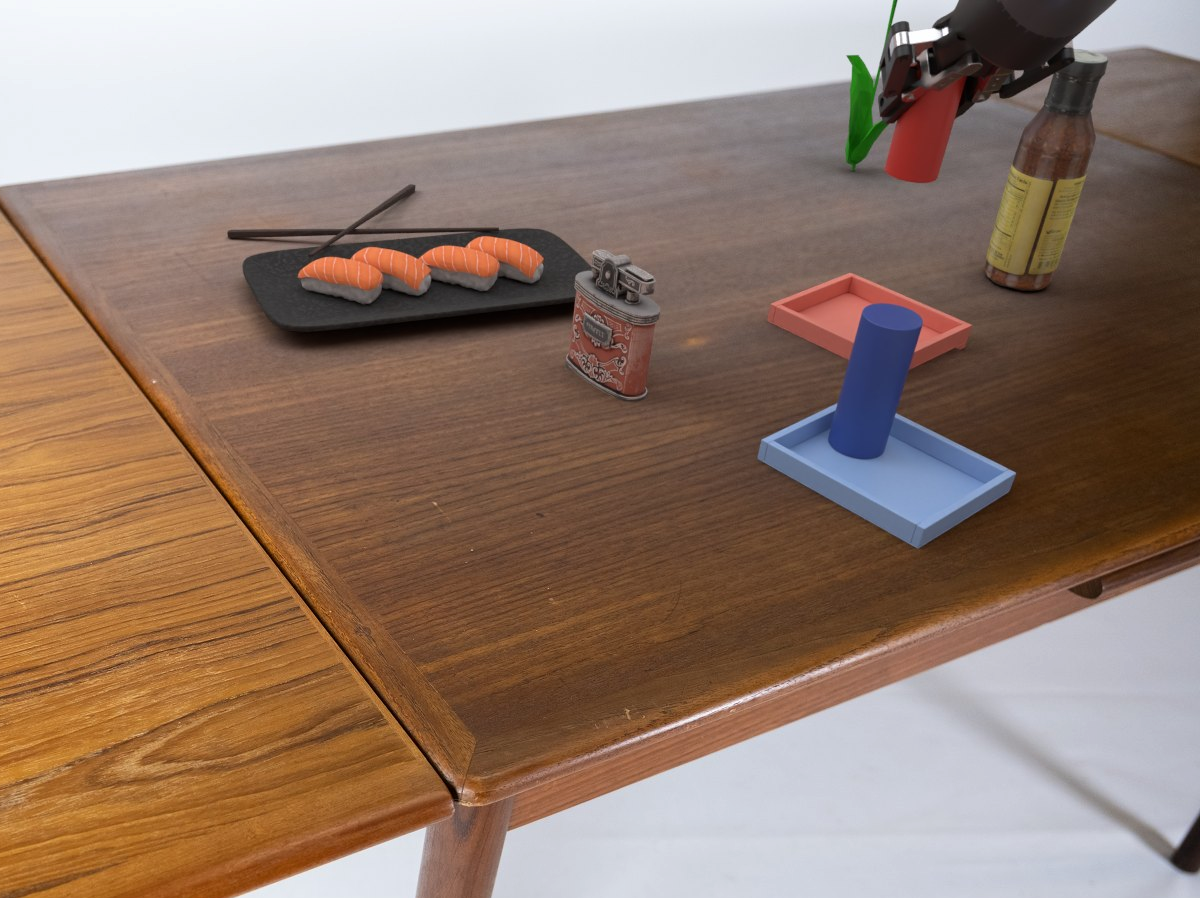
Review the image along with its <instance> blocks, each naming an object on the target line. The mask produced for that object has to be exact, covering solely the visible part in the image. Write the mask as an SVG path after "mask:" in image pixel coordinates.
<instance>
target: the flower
mask: <svg viewBox="0 0 1200 898" xmlns="http://www.w3.org/2000/svg"><path fill="white" fill-rule="evenodd" d="M898 1H899V0H892V4H891V9H890V15H889V20H888V24H887V29H886V34H885V39H884V43H883V49H882V52H881V54H882V53H883V50H884V47H885V44H886V41H887V37H888V34H889V31H890V28H891V26H892V25H893V21H894V16H895V12H896V10H897V9H896V8H897V4H898ZM846 58H847V59H848V61H849V63H850V65H851V79H850V80H851V81H850V87H849V98H850V99H849V103H850V104H849V105H850V106H849V119H848V135H847V140H846V143H845V147H844V148H845V149H844V152H845V163H847V164H849V165H851V170H850V171H851V172H855V171H856V170H855V169H856V166H857V165H858V164H860V163H862V162H863V161H864V159H866V158H867V156H868V154H869V152H870V151H871V149H872V147H873V145H874V143H875V142H876V141H877V140H878V138H880V136H881V134H882V133H883V131H884V130H885V129H886V128H887V127H888V126H889V125H890V124H884V123H883V121H882V120H879V121H878V122H875V124H874V122H873V120H874V119H873V106H874V101H875V96H876V92H877V89H878V84H879V80H880V75H881V70H880V64H879V65H878V68H877V71H876V72H877V73H876V77H875V79H873V77H872V75H871V73H870V71H869V69H868V67H867V65H866V63H865V61H863V59H862V58H861V56H860V55H859V54H847V55H846Z"/></svg>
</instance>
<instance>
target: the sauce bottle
mask: <svg viewBox="0 0 1200 898" xmlns="http://www.w3.org/2000/svg"><path fill="white" fill-rule="evenodd" d="M1074 55H1075V61H1074V62H1073V63H1072V64H1070V65H1068V66H1066V67H1065V68H1063V69H1061V70H1059V71H1058V72H1056V73H1054V74H1052V77H1051V81H1050V84H1049V88H1048V91H1047V95H1046V96H1045V98H1044V101H1043V105H1042V106H1041V108H1040V109H1039V110H1038V112H1037V113H1036V115H1034V116H1033V118H1032V119H1031V120H1030V121H1029V122H1028V123H1027V125H1025V127H1024V129H1023V131H1022V133H1021V137H1020V139H1019V142H1018V145H1017V148H1016V150H1015V153H1014V156H1013V159H1012V162H1011V166H1010V170H1009V173H1008V177H1007V180H1006V183H1005V186H1004V190H1003V194H1002V197H1001V201H1000V204H999V208H998V211H997V215H996V218H995V222H994V226H993V229H992V234H991V238H990V240H989V243H988V248H987V252H986V254H985V258H986V259H985V265H984V269H983V270H984V273H985V276H986V277H987V278H988V279H990V281H991V282H992V283H995V284H996V285H998V286H1001V287H1006V288H1009V289H1013V290H1016V291H1023V292H1025V291H1026V292H1027V291H1028V292H1033V291H1041V290H1043V289H1045V288H1047V287H1049V285H1050V283H1051V281H1052V280H1053V277H1054V273H1055V270H1057V269H1058V266H1059V264H1060V260H1061V256H1062V253H1063V251H1064V247H1065V244H1066V242H1067V238H1068V234H1069V231H1070V228H1071V226H1072V222H1073V220H1074V216H1075V213H1076V209H1077V206H1078V203H1079V200H1080V196H1081V193H1082V190H1083V187H1084V184H1085V181H1086V177H1087V175H1088V167H1089V163H1090V160H1091V157H1092V154H1093V151H1094V147H1095V144H1096V138H1097V135H1096V132H1095V128H1094V127H1095V126H1094V122H1093V115H1092V111H1093V107H1094V106H1093V105H1094V100H1095V96H1096V94H1097V91H1098V87H1099V84H1100V82H1101V79H1102V78H1103V77H1104V76H1105V75H1106V72H1107V71H1106V70H1107V67H1108V63H1109V57H1108V56H1106V55H1105V54H1103V53H1099V52H1096V51H1091V50H1087V49H1081V48H1074Z"/></svg>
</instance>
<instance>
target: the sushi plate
mask: <svg viewBox="0 0 1200 898" xmlns="http://www.w3.org/2000/svg"><path fill="white" fill-rule="evenodd" d="M414 192H416V184H414V183H413V184H412V183H410V184H408V185H406V186H405V187H404V188H402V189H400V190H399V191H398V192H396V193H394V194H393V195H392V196H391V197H389V198H388V199H386V200H384V201H383V202H382V203H381V204H379V205H378V206H376V207H374V209H372V210H370V211H369V212H368V213H367V214H365V215H363V217H361V218H360V219H358V220H357V221H355V222H354V223H352V224H351V225H349V226H348V227H346V228H270V229H269V228H262V229H261V228H259V229H258V228H256V229H255V228H253V229H252V228H251V229H250V228H249V229H246V228H245V229H229V230H227V232H226V234H227V238H229V239H248V238H249V239H251V238H252V239H253V238H286V237H287V238H288V237H291V238H293V237H324V236H325V237H326V236H333V237H331V238H330V239H328V240H327V241H326V242H324V243H322V244H321V245H320V246H309V247H299V248H289V249H288V248H287V249H281V250H273V251H267V252H266V251H265V252H261V253H257V254H252V255H251V256H248V257H246V258H245V259H244V260H243V262H242V265H241V266H242V267H241V268H242V273H243V277H244V279H245V281H246V284H247V285H248V288H249V289H250V291H251V294H253V296H254V298H255V300H256V302H257V303H258V305H259V307H260V308H261V310H262V312H263V313H264V315H265V316H266V317H267V319H269V321H271V323H273V325H275V326H277V327H278V328H280V329H282V330H285V331H290V332H304V333H305V332H306V333H307V332H323V331H324V332H325V331H336V330H345V329H355V328H365V327H371V326H382V325H389V324H398V323H407V322H415V321H422V320H423V321H425V320H433V319H442V318H450V317H458V316H459V317H460V316H469V315H476V314H484V313H493V312H502V311H509V310H519V309H527V308H528V309H529V308H536V307H545V306H553V305H562V304H569V303H575V299H576V289H575V287H574V285H575V277H576V275H577V274H578V273H580V272H584V271H592V266H591V264H590V263H589V262H588V261H587V260H586V259H585V258H583V256H582V255H580V254H579V253H578V251H576V250H575V249H574V248H573V247H572V246H570V244H568V242H566V241H565V240H564V239H562V238H561V237H559V236H558V235H557V234H555V233H553V232H551V231H549V230H545V229H541V228H533V227H532V228H531V227H526V228H525V227H522V228H520V227H518V228H504V229H500V227H499V226H498V227H496V226H493V227H492V226H491V227H490V226H486V227H483V226H482V227H425V228H424V227H417V228H416V227H415V228H414V227H411V228H410V227H409V228H408V227H406V228H405V227H404V228H359V227H360V226H362V225H363V224H365V223H366V222H368V221H369V220H372V219H373V218H375V217H376V216H378V215H380V214H381V213H383V212H384V211H386V210H388V209H389V208H391V207H393V206H394V205H396V204H397V203H398V202H401V201H402V200H403V199H405V198H406V197H408V196H410V195H411V194H413V193H414ZM434 233H435V234H436V233H439V234H437V235H427V236H417V237H406V238H394V239H384V240H373V241H363V242H353V243H352V242H351V243H341V244H334V243H335V242H337V241H339V240H340V239H342V238H343V237H345V236H353V235H356V236H357V235H389V234H390V235H391V234H392V235H393V234H394V235H395V234H434ZM440 233H447V234H440ZM448 233H449V234H448Z"/></svg>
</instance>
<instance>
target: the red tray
mask: <svg viewBox="0 0 1200 898" xmlns="http://www.w3.org/2000/svg"><path fill="white" fill-rule="evenodd" d="M879 303H885V304H894V305H898V306H902V307H905V308H908V309H910V310H912V311H914V312H916V313H917V314H918V315H920V316H921V318H922V320H923V325H922V328H921V332H920V335H919V338H918V342H917V345H916V348H915V352H914V355H913V358H912V361H911V365H910V368H909V371H910V370H912V369H915V368H916V367H918V366H920V365H923V364H924V363H927V362H928V361H931V360H933V359H934V358H937V357H939V356H941V355H943V354H945V353H947V352H950V351H951V350H953V349H958V350H960V351H961V350H963V349H965V348H966V345H967V343H968V339H969V337H970V335H971V331H972V327H973V324H971V323H969V322H966V321H964V320H962V319H959V318H958V317H955V316H953V315H950V314H948V313H946V312H943V311H941V310H938V309H936V308H935V307H932V306H929V305H927V304H925V303H923V302H920V301H918V300H916V299H914V298H911V297H908V296H907V295H904V294H901V293H899V292H897V291H895V290H892V289H890V288H888V287H886V286H883V285H881V284H878V283H876V282H873V281H872V280H869V279H867V278H865V277H862V276H860V275H858V274H855V273H853V272H849V273H846V274H844V275H840V276H838V277H834V278H833V279H830V280H828V281H825V282H823V283H820V284H818V285H815V286H813V287H810V288H807V289H805V290H802V291H800V292H796V293H795V294H791V295H789V296H787V297H785V298H781V299H779V300H776V301H774V302H771V303H770V306H769V310H768V315H767V319H766V320H767V322H769V323H771V324H773V325H775V326H778V327H779V328H781V329H783V330H786V331H788V332H790V333H792V334H793V335H795V336H798V337H800V338H802V339H803V340H807V341H808V342H811V343H813V344H815V345H817V346H819V347H821V348H823V349H825V350H827V351H830V352H831V353H833V354H836V355H838V356H840V357H842V358H843V359H846V360H848V361H849V359H850V355H851V351H852V348H853V344H854V340H855V336H856V333H857V329H858V325H859V322H860V318H861V314H862V311H863V309H864V308H865V307H866V306H868V305H872V304H879Z"/></svg>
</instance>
